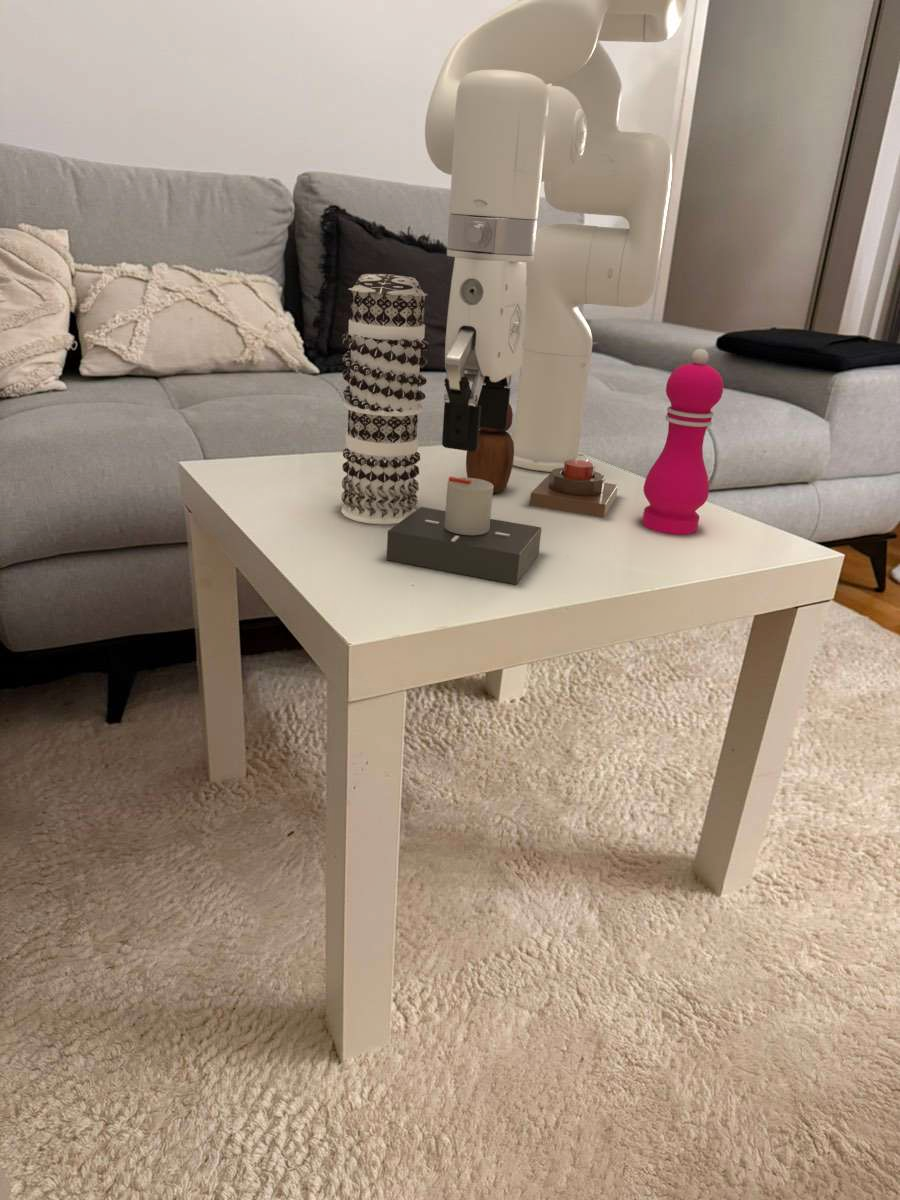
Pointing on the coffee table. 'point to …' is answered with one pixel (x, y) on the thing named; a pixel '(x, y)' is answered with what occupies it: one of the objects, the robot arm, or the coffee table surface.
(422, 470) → the coffee table surface
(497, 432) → the wooden figurine
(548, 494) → the button block
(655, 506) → the pepper mill
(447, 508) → the knob
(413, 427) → the decorative candle
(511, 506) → the coffee table surface
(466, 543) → the panel
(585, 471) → the button
